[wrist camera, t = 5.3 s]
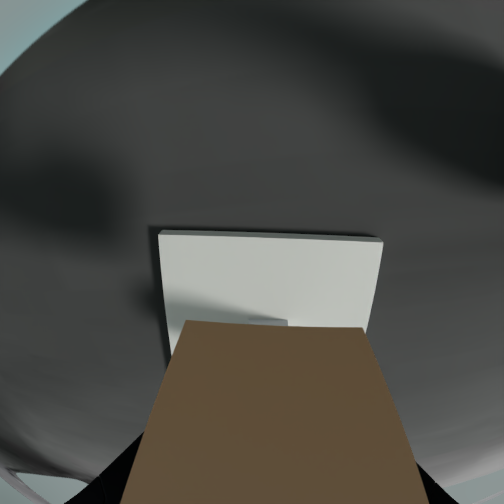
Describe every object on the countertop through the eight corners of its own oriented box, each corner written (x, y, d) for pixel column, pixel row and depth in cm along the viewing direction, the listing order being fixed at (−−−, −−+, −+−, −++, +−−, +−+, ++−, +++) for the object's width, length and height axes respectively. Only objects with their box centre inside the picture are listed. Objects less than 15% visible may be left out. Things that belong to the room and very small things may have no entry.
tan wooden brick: (362, 327, 9) (437, 533, 3) (330, 433, 11) (351, 584, 5) (186, 319, 9) (110, 535, 3) (196, 428, 11) (166, 581, 5)
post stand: (378, 237, 20) (431, 295, 13) (344, 393, 25) (361, 468, 18) (162, 229, 20) (110, 285, 13) (180, 388, 26) (159, 463, 18)
